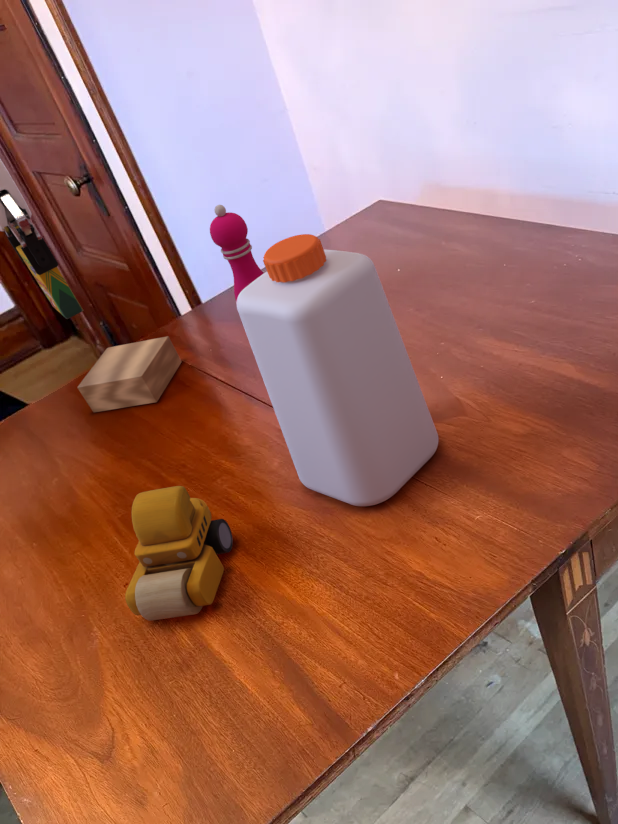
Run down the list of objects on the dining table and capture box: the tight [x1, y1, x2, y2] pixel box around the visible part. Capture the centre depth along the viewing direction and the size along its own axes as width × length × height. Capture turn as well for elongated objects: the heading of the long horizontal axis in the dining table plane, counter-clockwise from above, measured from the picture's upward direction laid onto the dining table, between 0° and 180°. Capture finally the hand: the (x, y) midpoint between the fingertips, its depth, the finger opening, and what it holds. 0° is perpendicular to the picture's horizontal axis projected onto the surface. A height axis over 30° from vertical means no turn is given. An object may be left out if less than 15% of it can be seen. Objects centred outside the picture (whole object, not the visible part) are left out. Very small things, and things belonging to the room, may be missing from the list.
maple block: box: [77, 335, 183, 413], centre depth 123 cm, size 12×12×5 cm
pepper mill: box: [209, 204, 265, 303], centre depth 124 cm, size 7×7×20 cm
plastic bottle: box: [235, 233, 439, 507], centre depth 83 cm, size 15×15×28 cm
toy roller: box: [124, 485, 234, 622], centre depth 82 cm, size 9×14×10 cm, turn 177°
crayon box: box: [16, 245, 84, 320], centre depth 108 cm, size 7×3×12 cm, turn 36°
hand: (40, 264), depth 107 cm, fingers closed on crayon box, 7 cm apart
